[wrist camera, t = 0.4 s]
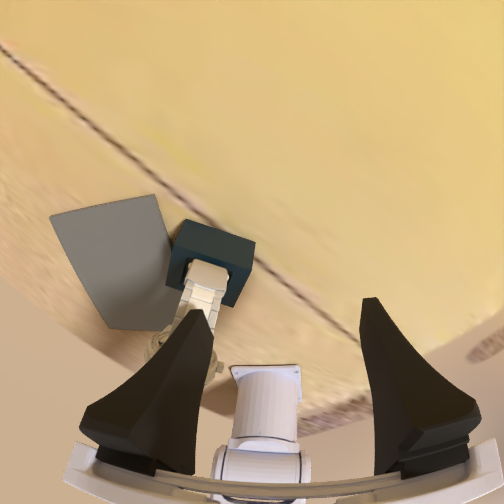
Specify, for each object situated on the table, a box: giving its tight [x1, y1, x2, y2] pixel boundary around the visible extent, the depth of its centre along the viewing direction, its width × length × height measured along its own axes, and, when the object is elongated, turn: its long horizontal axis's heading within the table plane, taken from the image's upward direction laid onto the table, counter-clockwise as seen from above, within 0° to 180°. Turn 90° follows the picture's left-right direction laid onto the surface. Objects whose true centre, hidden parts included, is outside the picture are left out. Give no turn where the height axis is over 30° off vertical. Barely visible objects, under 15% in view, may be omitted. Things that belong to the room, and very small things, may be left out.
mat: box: [49, 194, 188, 331], centre depth 26 cm, size 15×12×1 cm
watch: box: [145, 219, 256, 385], centre depth 19 cm, size 6×8×11 cm
